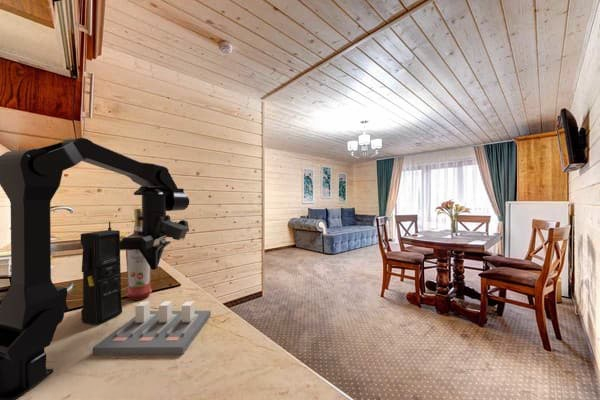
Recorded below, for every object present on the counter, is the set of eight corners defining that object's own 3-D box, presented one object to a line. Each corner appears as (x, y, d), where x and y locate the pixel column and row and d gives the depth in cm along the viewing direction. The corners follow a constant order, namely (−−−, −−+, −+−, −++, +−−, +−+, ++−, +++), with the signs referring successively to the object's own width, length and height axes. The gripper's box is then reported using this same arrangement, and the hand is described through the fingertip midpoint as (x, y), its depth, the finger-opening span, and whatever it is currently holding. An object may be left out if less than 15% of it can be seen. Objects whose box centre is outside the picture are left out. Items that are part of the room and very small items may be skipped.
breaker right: (181, 322, 59) (181, 305, 59) (186, 317, 61) (186, 301, 61) (190, 322, 59) (190, 305, 59) (194, 317, 61) (194, 301, 61)
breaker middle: (158, 322, 59) (158, 305, 59) (164, 317, 61) (164, 301, 61) (167, 322, 59) (167, 305, 59) (172, 317, 61) (172, 301, 61)
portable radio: (95, 327, 60) (94, 224, 59) (75, 325, 61) (75, 224, 61) (124, 312, 67) (124, 221, 67) (106, 310, 69) (106, 221, 68)
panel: (92, 355, 49) (92, 344, 49) (142, 316, 65) (142, 308, 65) (182, 354, 50) (182, 344, 50) (210, 316, 66) (210, 308, 65)
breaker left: (135, 322, 59) (135, 305, 59) (141, 317, 61) (141, 301, 61) (143, 322, 59) (143, 305, 59) (149, 317, 61) (149, 301, 61)
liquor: (125, 303, 73) (125, 209, 73) (125, 296, 79) (124, 208, 79) (154, 298, 77) (153, 209, 77) (151, 290, 83) (151, 208, 83)
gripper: (165, 214, 58) (166, 280, 58) (197, 210, 77) (197, 260, 77) (117, 214, 58) (118, 280, 58) (161, 210, 76) (161, 260, 76)
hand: (154, 269), depth 67 cm, fingers closed
